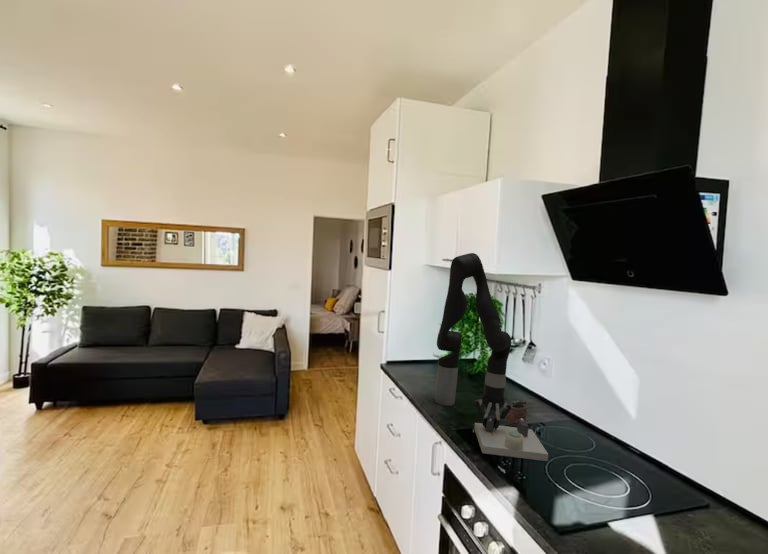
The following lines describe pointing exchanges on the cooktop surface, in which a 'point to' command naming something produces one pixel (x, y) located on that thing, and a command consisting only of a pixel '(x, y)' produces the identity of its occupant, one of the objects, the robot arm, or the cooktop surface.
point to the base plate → (504, 451)
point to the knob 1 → (490, 423)
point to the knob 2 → (522, 427)
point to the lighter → (517, 412)
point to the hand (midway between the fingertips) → (490, 427)
